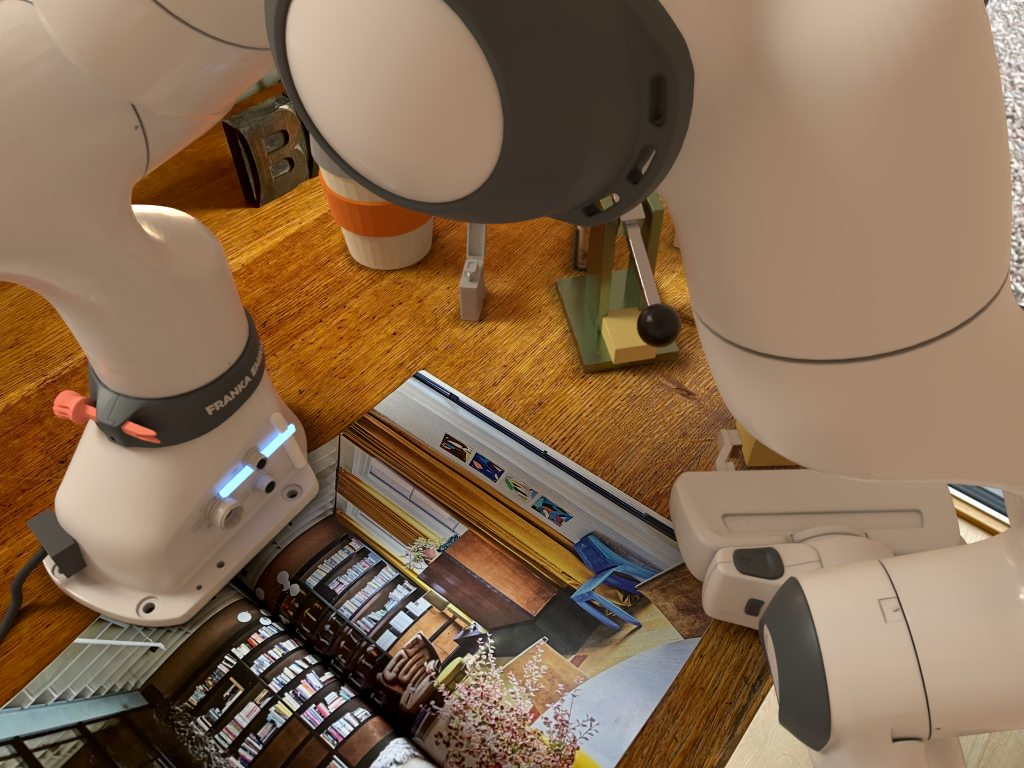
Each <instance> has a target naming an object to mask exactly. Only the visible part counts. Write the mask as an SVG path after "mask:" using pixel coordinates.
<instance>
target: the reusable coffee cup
mask: <svg viewBox="0 0 1024 768" xmlns="http://www.w3.org/2000/svg"><path fill="white" fill-rule="evenodd" d="M309 144H310V153H311V156H312V158H313V160H314V162H315V163H316V164H317V165H318V167H319V170H318V178H319V182H320V186H321V188H322V191H323V194H324V196H325V199H326V203H327V204H328V208H329V211H330V214H331V215H332V218H333V220H334V221H335V222H336V223H337V224H338V225H339V226H340V230H341V232H342V234H343V238H344V240H345V244H346V246H347V249H348V251H349V254H350V256H351V257H352V258H353V259H354V260H355V261H356V263H359V264H360V265H362V266H365V267H366V268H369V269H372V270H373V269H374V270H382V271H392V270H399V269H403V268H407V267H410V266H412V265H414V264H416V263H418V262H419V261H421V260H422V259H423V258H425V257H426V255H427V254H428V253H429V252H430V250H431V247H432V245H433V231H434V216H430V215H426V214H423V213H419V212H416V211H413V210H409V209H406V208H404V207H401V206H398V205H395V204H393V203H391V202H389V201H386V200H384V199H382V198H381V197H379V196H377V195H375V194H373V193H372V192H370V191H369V190H367V189H366V188H364V187H363V186H361V185H360V184H359V183H357V182H356V181H355V180H353V179H352V178H351V177H350V176H348V175H347V174H346V173H345V172H344V171H343V170H342V169H341V168H340V167H339V166H337V165H336V164H335V163H334V162H333V161H332V160H331V158H330V157H329V156H328V155H327V154H326V153H325V152H324V151H323V149H322V148H321V147H320V146H319V145H318V143H317V142H316V141H315V139H314V138H313V137H312V135H311V134H310V133H309Z"/></svg>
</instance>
